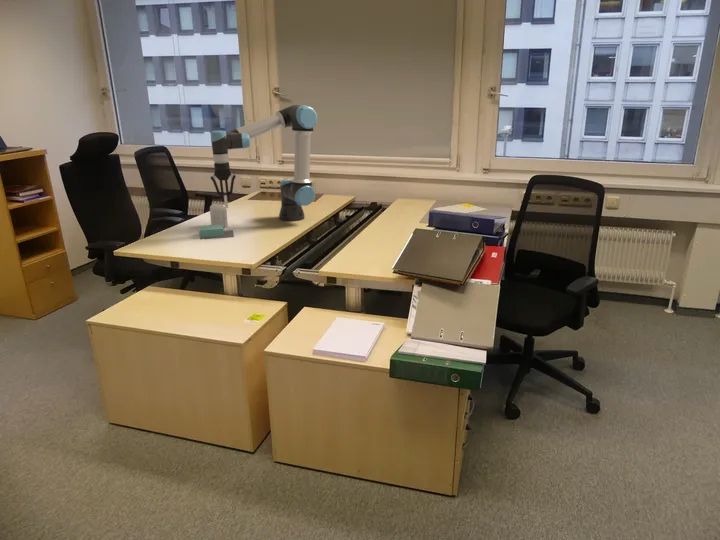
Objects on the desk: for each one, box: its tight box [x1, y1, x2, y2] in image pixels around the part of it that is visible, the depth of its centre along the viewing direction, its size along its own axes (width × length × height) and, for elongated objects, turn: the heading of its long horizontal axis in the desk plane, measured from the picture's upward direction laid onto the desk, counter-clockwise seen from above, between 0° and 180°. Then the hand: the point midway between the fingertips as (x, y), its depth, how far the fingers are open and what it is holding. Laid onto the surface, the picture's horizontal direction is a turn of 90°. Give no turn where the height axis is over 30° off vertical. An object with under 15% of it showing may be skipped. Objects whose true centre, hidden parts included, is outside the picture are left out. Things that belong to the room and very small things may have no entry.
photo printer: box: [209, 203, 229, 229], centre depth 296 cm, size 10×4×12 cm, turn 60°
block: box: [199, 224, 225, 239], centre depth 279 cm, size 4×9×12 cm
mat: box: [199, 230, 235, 240], centre depth 280 cm, size 17×13×1 cm
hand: (226, 207), depth 277 cm, fingers closed
